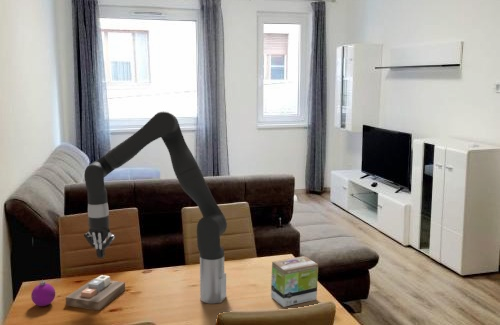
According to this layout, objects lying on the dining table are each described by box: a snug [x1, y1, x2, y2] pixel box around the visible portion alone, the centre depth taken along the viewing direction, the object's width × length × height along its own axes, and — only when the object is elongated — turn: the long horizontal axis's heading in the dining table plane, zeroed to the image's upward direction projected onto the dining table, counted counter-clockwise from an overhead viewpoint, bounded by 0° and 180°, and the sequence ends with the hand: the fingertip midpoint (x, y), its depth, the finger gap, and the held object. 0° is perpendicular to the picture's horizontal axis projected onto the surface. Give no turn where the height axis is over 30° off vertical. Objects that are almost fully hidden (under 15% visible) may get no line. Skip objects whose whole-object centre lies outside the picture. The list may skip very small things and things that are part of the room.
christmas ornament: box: [30, 279, 56, 307], centre depth 174 cm, size 8×8×10 cm
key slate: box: [87, 278, 104, 293], centre depth 180 cm, size 4×4×3 cm
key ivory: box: [95, 274, 111, 288], centre depth 185 cm, size 4×4×3 cm
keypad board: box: [65, 277, 126, 311], centre depth 181 cm, size 14×18×3 cm
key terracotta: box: [81, 288, 97, 298], centre depth 176 cm, size 4×4×3 cm
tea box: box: [270, 255, 319, 308], centre depth 179 cm, size 15×10×15 cm
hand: (100, 257), depth 182 cm, fingers closed
